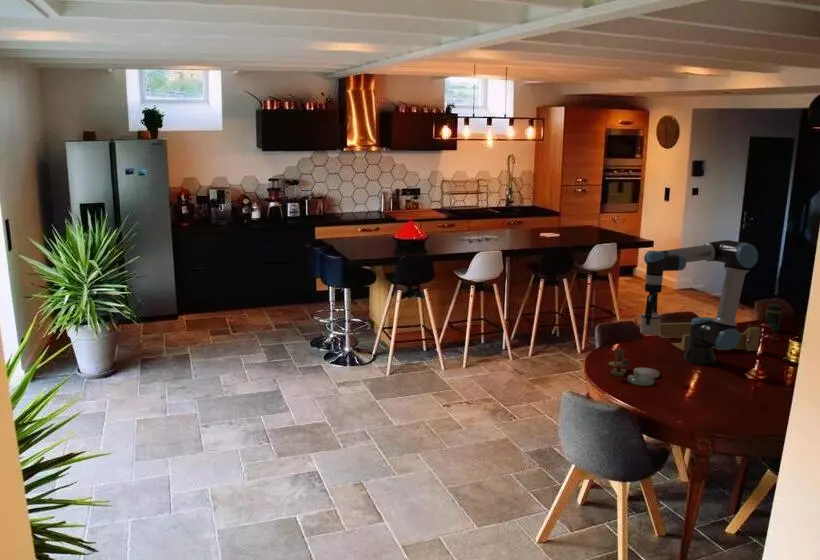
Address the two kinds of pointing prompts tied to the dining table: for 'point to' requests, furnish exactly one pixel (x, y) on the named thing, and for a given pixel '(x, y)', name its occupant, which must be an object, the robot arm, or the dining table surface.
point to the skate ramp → (684, 332)
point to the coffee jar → (773, 316)
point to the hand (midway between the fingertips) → (649, 329)
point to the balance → (619, 364)
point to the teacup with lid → (654, 324)
